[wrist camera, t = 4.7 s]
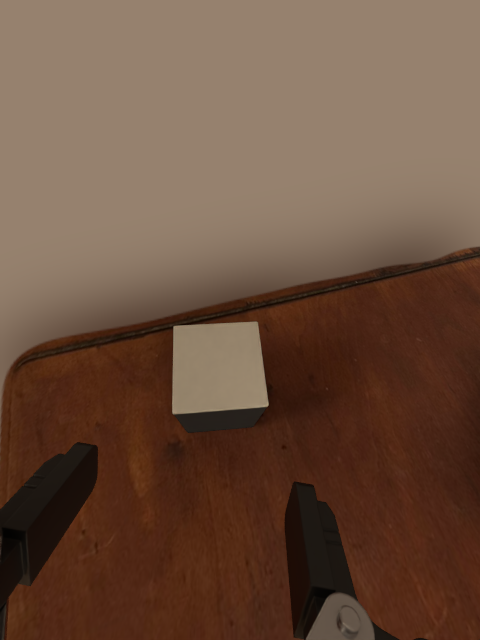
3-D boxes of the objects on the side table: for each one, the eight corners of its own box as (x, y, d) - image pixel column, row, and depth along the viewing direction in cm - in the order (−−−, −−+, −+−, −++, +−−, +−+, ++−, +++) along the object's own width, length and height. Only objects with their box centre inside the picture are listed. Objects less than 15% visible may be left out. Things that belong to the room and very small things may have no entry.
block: (187, 433, 22) (172, 413, 15) (186, 368, 24) (173, 325, 17) (253, 427, 22) (268, 405, 15) (246, 365, 25) (257, 321, 18)
